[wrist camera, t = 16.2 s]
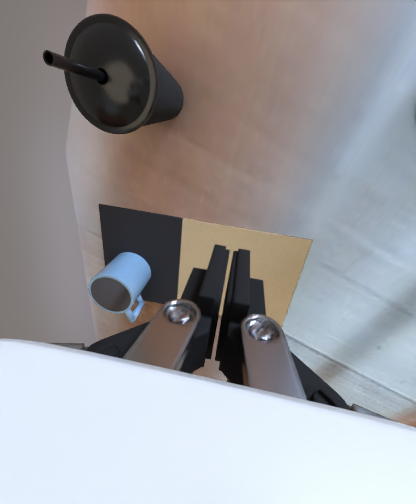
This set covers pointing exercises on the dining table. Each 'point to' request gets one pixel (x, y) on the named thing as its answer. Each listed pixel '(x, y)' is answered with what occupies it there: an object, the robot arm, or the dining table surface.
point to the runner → (202, 254)
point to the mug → (121, 285)
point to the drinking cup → (116, 76)
